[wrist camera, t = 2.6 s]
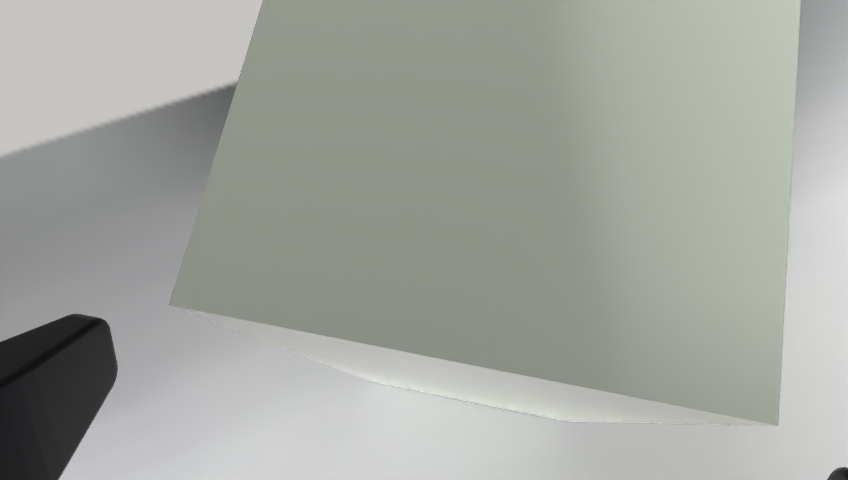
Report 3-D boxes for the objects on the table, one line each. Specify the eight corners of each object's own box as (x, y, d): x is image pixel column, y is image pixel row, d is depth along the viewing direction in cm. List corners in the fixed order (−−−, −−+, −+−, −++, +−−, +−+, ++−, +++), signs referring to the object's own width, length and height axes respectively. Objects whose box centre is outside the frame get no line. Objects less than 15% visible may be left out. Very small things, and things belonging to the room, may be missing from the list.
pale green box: (565, 421, 17) (777, 425, 5) (368, 381, 18) (169, 304, 6) (591, 229, 19) (806, -104, 7) (408, 199, 19) (311, -154, 7)
